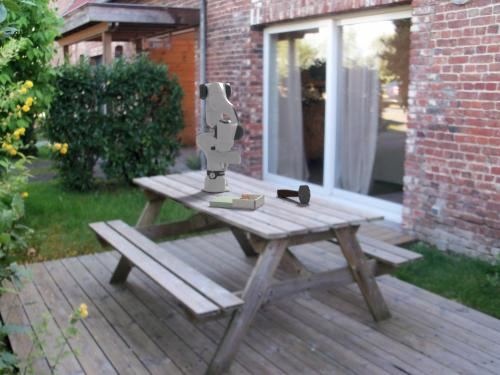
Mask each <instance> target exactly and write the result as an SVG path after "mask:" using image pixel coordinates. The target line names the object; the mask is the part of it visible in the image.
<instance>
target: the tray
mask: <svg viewBox="0 0 500 375" xmlns="http://www.w3.org/2000/svg"><path fill="white" fill-rule="evenodd" d="M244 194H245V193H241V196H242V195H244ZM248 194H249V200H248V199H234V198H233V199H232V208H231V209H243V210H257V209H259V208H260V207H262V206H263V205H264V204H265V194H258V193H257V194H256V193H248Z"/></svg>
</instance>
